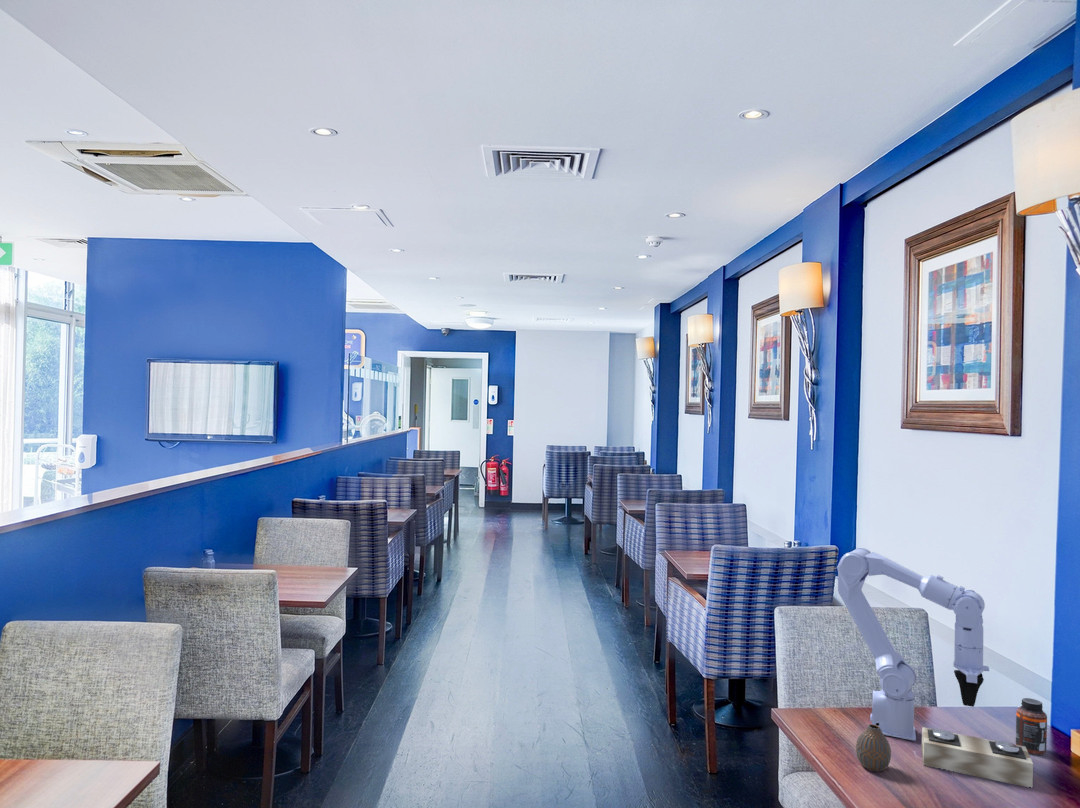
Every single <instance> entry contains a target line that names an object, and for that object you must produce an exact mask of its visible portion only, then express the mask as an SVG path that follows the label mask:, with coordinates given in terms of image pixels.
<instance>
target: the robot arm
mask: <svg viewBox="0 0 1080 808" xmlns="http://www.w3.org/2000/svg"><path fill="white" fill-rule="evenodd" d="M836 569H837V573H838V575H837V592H838V594H839V596H840V598H841V600H842V602H843V603H844V605H845V607H846V609H847V611H848V612H849V615H850V616H851V618H852V619H853V620H852V621H853V622H854V623H855V625H856V627H857V629H858V631H859V633H860V634H861V636H862V638H863V640H864V642H865V644H866V645H867V647H868V649H869V651H870V653H871V655H872V656H873V658H874V661H875V667H876V668H875V669H876V672H877V674H878V676H879V681H880V682H879V683H880V688H881V690H872V708H871V709H872V710H871V713H870V718H869V720H870V722H871V724H874V725H877V726H879V727H880V729H881V731H882V733H883V734H884V736H888V737H893V738H897V739H903V740H909V741H915V742H916V741H917V736H916V735H917V734H916V727H915V697H916V696H915V693H914V692H913V690H912V687H913V686H914V685H915V684H916V682H917V675H916V672H915V670H914V668H913V667H912V666H911V665H910V664H908V663H907V662H906V661H905V660H904V658H903V656H902V655H901V654H899V652H897V651H896V650H895V648H894V647H893V644H892V642H891V641H890V639H889V637H888V635H887V634H886V632H885V630H884V629H883V627H882V625H881V623H880V621H879V619H878V618H877V616H876V614H875V612H874V610H873V609H872V607H871V605H870V603H869V602H868V600H867V597H866V596H865V595H864V592H863V591H862V589H863V586H864V583H865V581H866V578H867V576H869V577H871V576H881V575H883V576H886V577H889V578H892V579H894V580H895V581H898V582H900V583H903V584H905V585H906V586H910V587H912V588H914V589H917V590H918V592H919V594H920V596H921V598H924V599H925V600H928V601H930V602H932V603H935V604H936V605H938V606H940V607H942V608H945V609H946V610H948V611H949V610H951V611H953V613H954V614H955V622H954V652H953V653H954V655H953V658H954V661H953V663H952V664H953V667H954V668H955V669H954V670H953V673H954V676H955V677H956V680H957V683H958V686H959V690H960V697H961V700H962V705H963V706H966V707H971V708H972V707H975V705H976V702H977V701H976V700H977V696H978V693H979V689H980V687H981V686H982V684H983V683H984V675H983V673H984V672H990V667H989V666H988V665H984V626H983V624H984V618H983V615H982V614H983V612H984V610H985V606H986V605H985V601H984V598H983V597H982V596H981V594H979V593H977V592H976V591H975V590H973V589H966V587H965V586H961V585H960V586H958V585H955V584H953V583H950V582H949V581H946V580H945V579H944V577H943V576H942V575H939V574H937V575H936V576H935V575H933V574H931V575H926V576H923V575H921V574H919V573H917V572H915V571H913V570H911V569H909V568H907V567H905V566H904V565H902V564H899V563H897V562H896V561H893V560H891V559H889V558H888V557H886V556H883V555H881V554H879V553H877V552H875V551H872V552H871V551H870V550H868V549H866V548H864V547H858V548H855V549H854V550H852V551H850V552H845V554H843V556H842V557H841V558H840V559H839V562H838V565H837V566H836Z"/></svg>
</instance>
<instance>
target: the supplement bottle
mask: <svg viewBox="0 0 1080 808" xmlns="http://www.w3.org/2000/svg"><path fill="white" fill-rule="evenodd" d="M1015 714H1016V715H1015V716H1016V717H1015V718H1016V719H1015V745H1019V746H1025V747H1026V749H1027V751H1028V753H1029V754H1030V753H1031V755H1036V754H1038V756H1039V755H1040V756H1041V754H1042V755H1045V754H1046V753H1047V739H1048V738H1047V734H1048V733H1047V732H1048V716H1047V713H1046V712H1045V711H1044V710H1043V702H1042V701H1040V700H1038V699H1035V698H1030V697H1023V698H1021V706H1019V707H1017V708H1016V713H1015Z"/></svg>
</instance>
